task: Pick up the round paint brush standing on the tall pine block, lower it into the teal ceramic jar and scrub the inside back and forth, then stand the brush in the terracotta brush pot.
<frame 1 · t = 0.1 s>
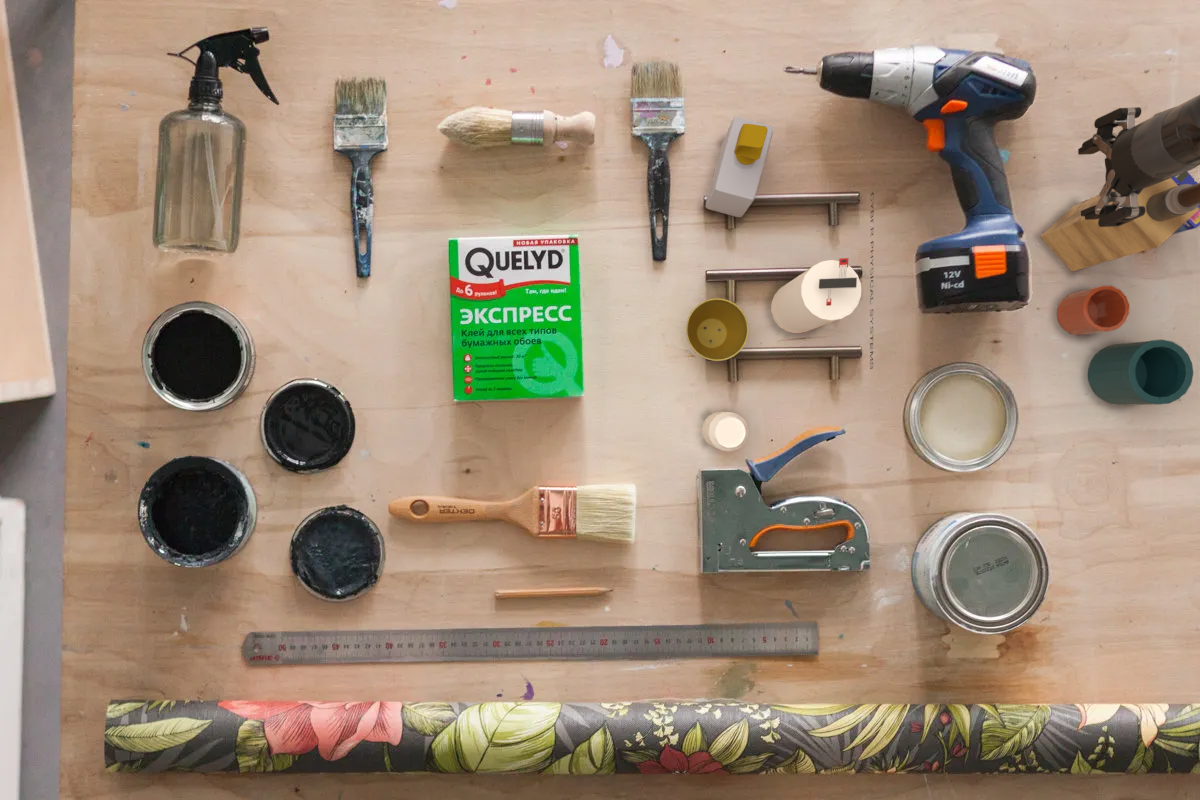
hand: (1085, 182, 114), 26 cm above the worktop, tool pointing down, fingers open, 8 cm apart
cream round cylinder: (719, 429, 141), on the worktop
brush pot: (1078, 313, 140), on the worktop
jar: (1117, 374, 140), on the worktop
brush: (1159, 207, 118), point 22 cm above the worktop, touching riser
ink cartridge box: (1137, 212, 141), on the worktop
flower pot: (711, 333, 141), on the worktop
riser: (1073, 238, 140), on the worktop
soap bottle: (731, 180, 141), on the worktop
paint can: (800, 308, 141), on the worktop
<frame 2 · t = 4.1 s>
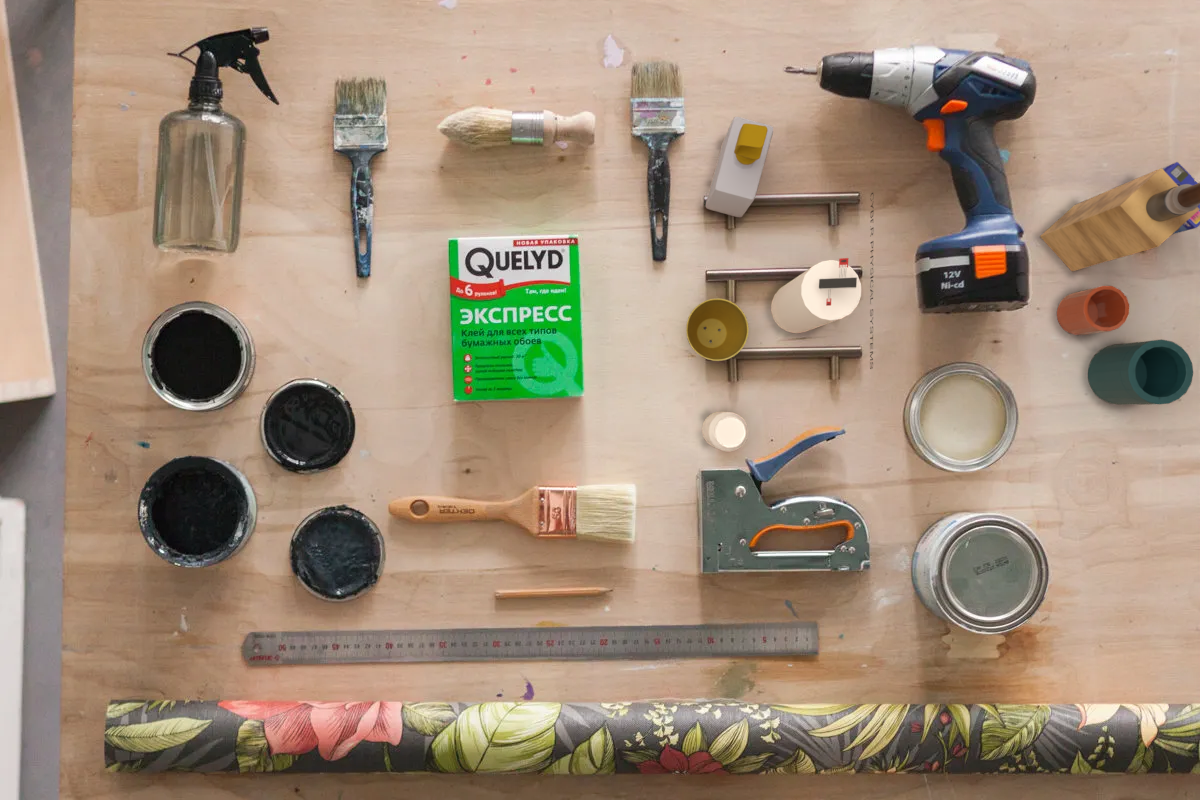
brush: (1159, 207, 118), point 22 cm above the worktop, touching gripper, riser
everything else where it was.
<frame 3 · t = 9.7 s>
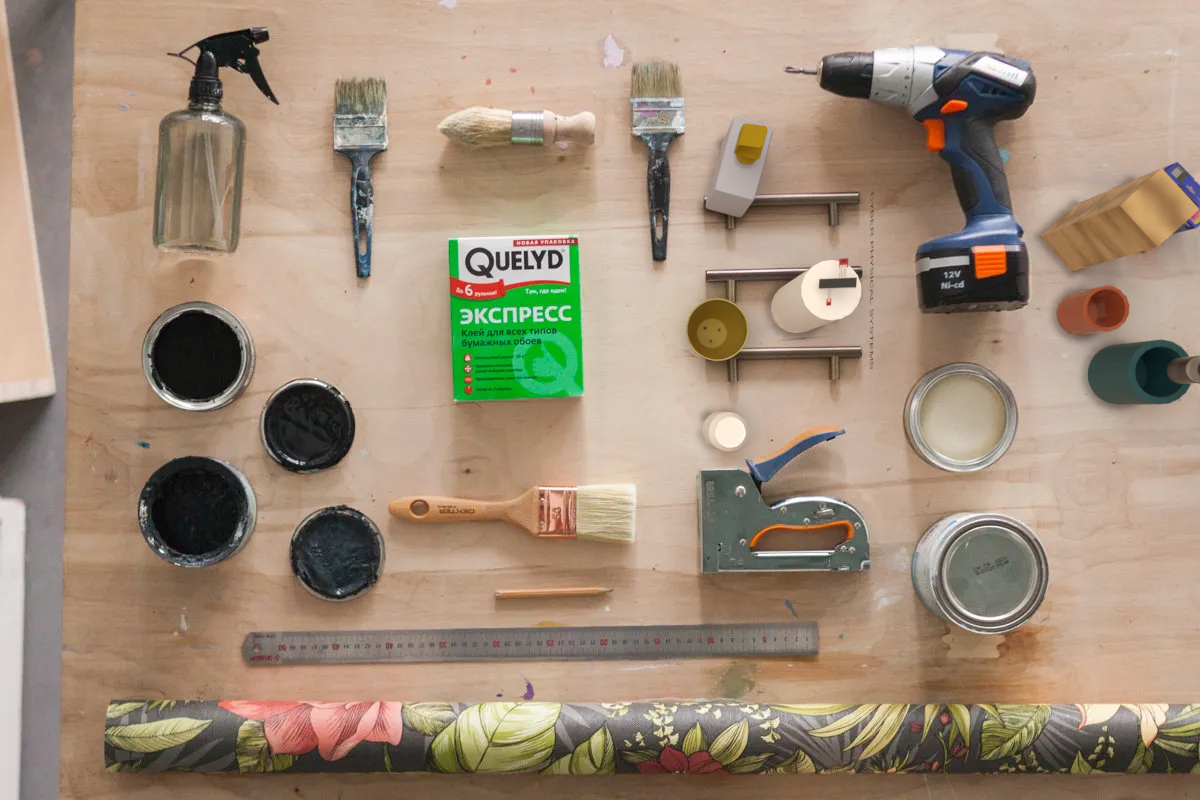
brush: (1180, 370, 125), point 15 cm above the worktop, touching gripper
everything else where it was.
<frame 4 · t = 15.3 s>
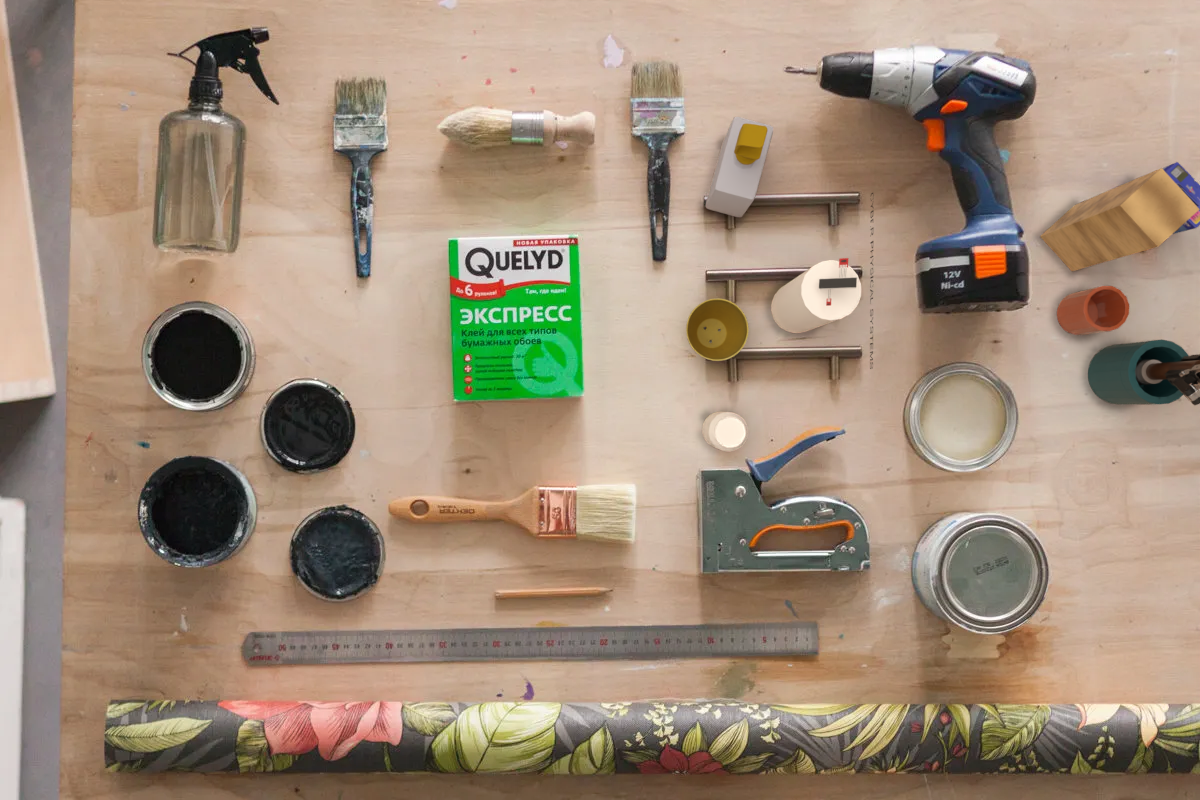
hand: (1178, 370, 125), 15 cm above the worktop, tool pointing down, fingers closed on brush, 2 cm apart
brush: (1131, 372, 136), point 4 cm above the worktop, touching gripper
everything else where it was.
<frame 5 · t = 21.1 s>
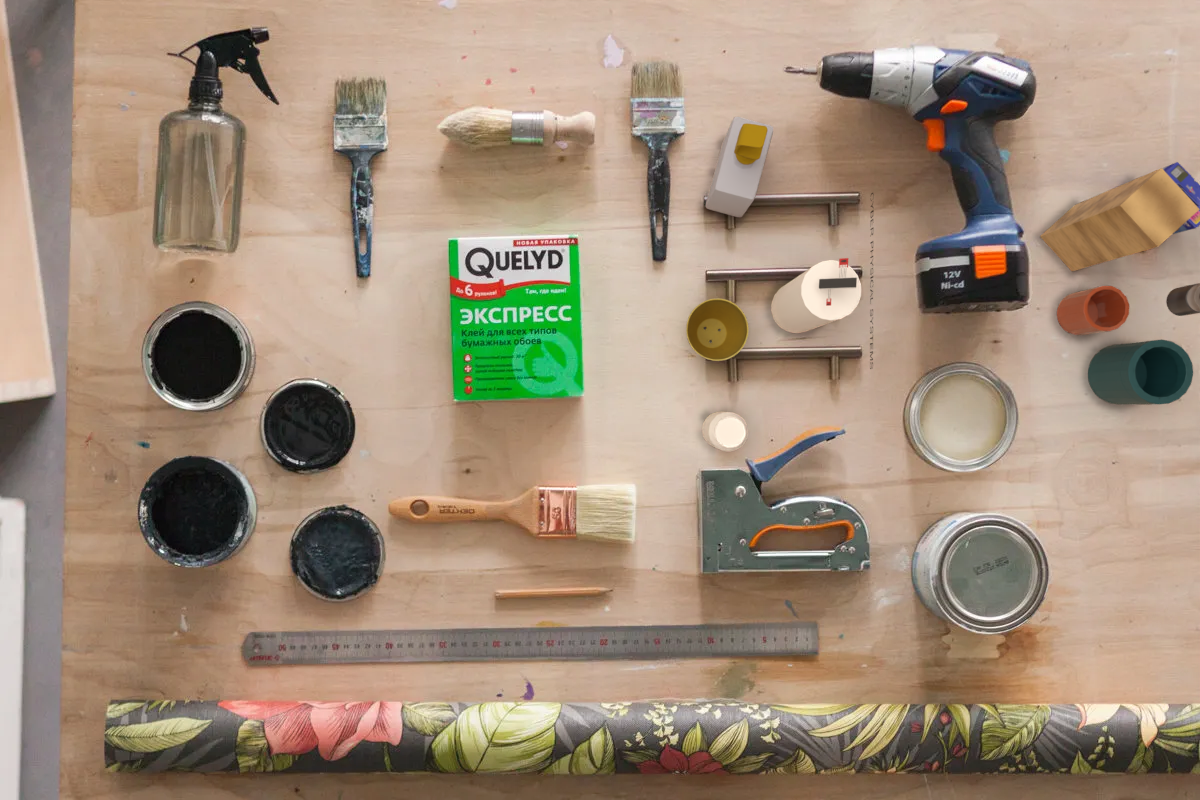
brush: (1180, 301, 116), point 24 cm above the worktop, touching gripper
everything else where it was.
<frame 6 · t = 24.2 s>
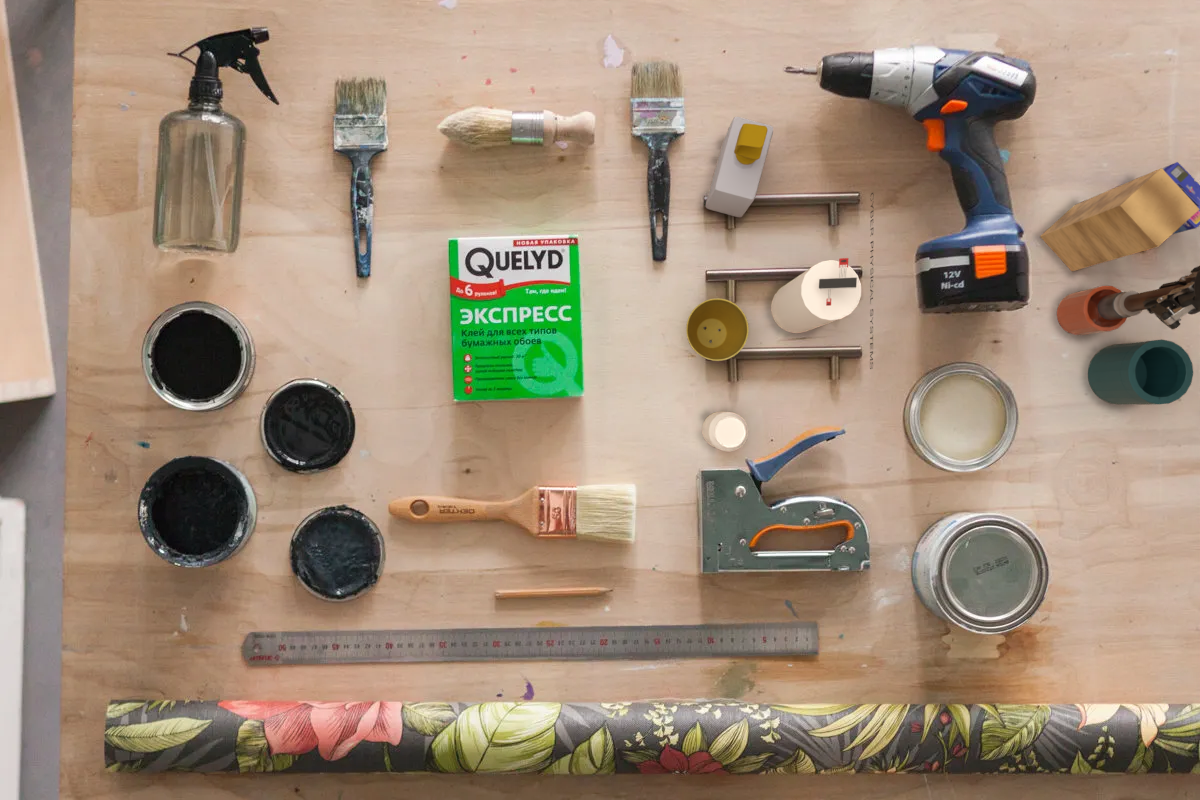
hand: (1156, 298, 120), 20 cm above the worktop, tool pointing down, fingers closed on brush, 2 cm apart
brush: (1110, 307, 131), point 9 cm above the worktop, touching gripper
everything else where it was.
when the fingers open (12 cm above the worktop, at t = 26.4 s): brush stays where it is, resting on brush pot.
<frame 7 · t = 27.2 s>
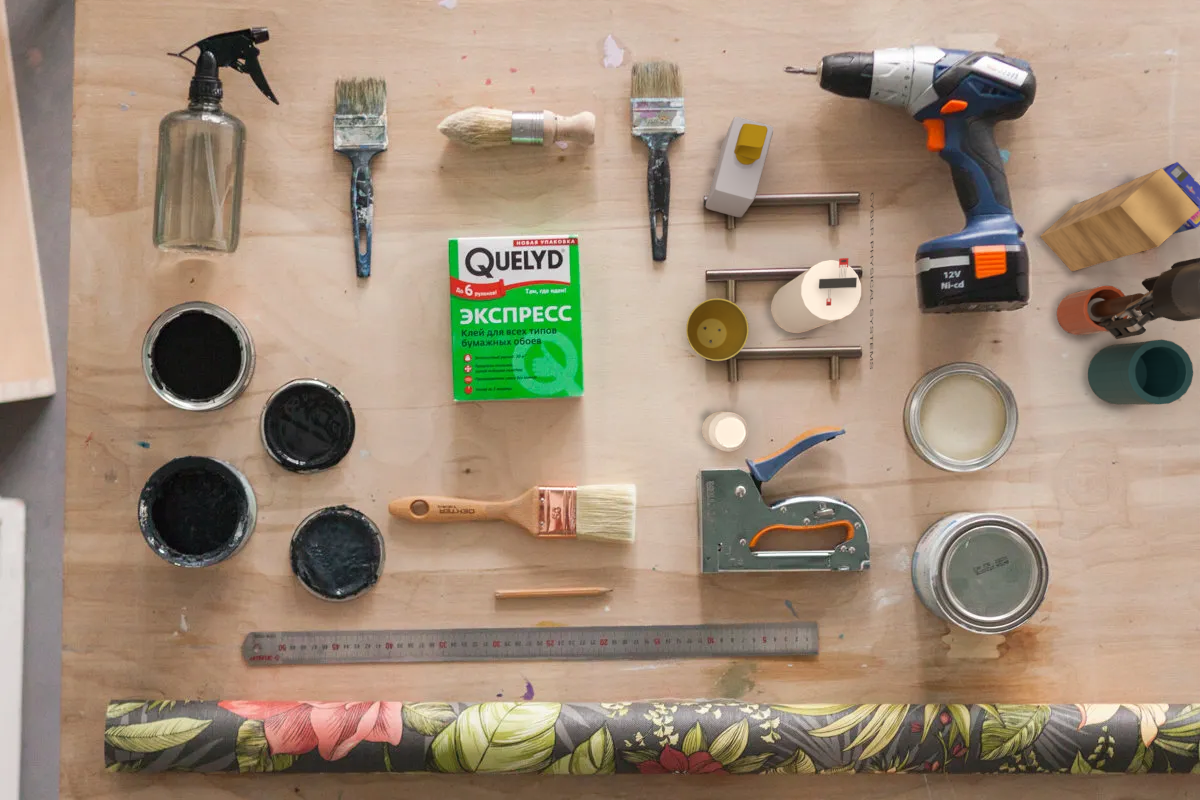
hand: (1126, 304, 127), 13 cm above the worktop, tool pointing down, fingers open, 8 cm apart
brush: (1079, 313, 140), resting on brush pot
everything else where it was.
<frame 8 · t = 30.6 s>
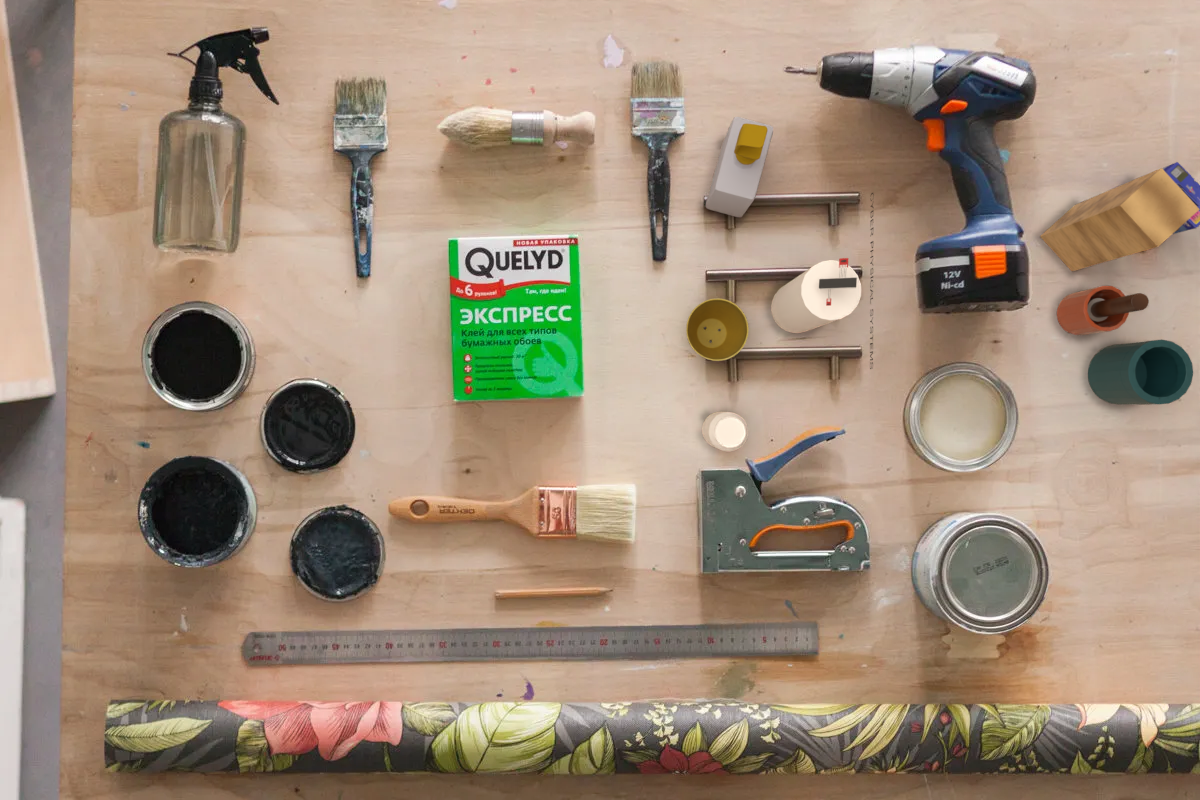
nothing on the worktop moved.
at the end: brush 0.1 cm off-centre in the brush pot, point 0.5 cm above the brush pot's base; brush tilted 0°; the gripper is holding nothing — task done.
